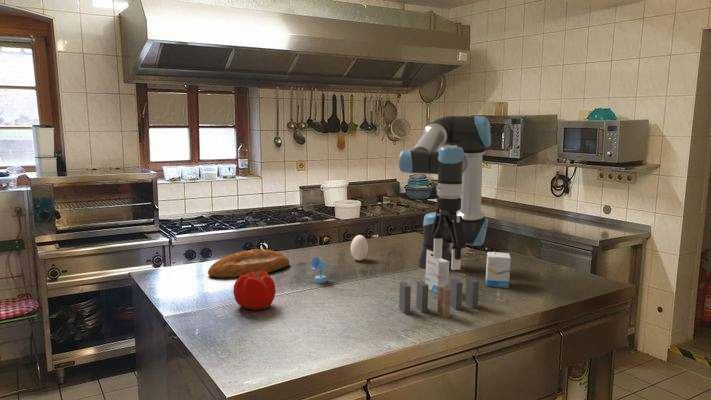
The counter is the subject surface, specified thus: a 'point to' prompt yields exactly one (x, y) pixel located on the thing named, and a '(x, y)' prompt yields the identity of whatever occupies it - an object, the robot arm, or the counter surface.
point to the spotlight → (319, 265)
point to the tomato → (254, 290)
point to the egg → (359, 247)
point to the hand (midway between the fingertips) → (446, 263)
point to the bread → (248, 263)
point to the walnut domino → (444, 301)
